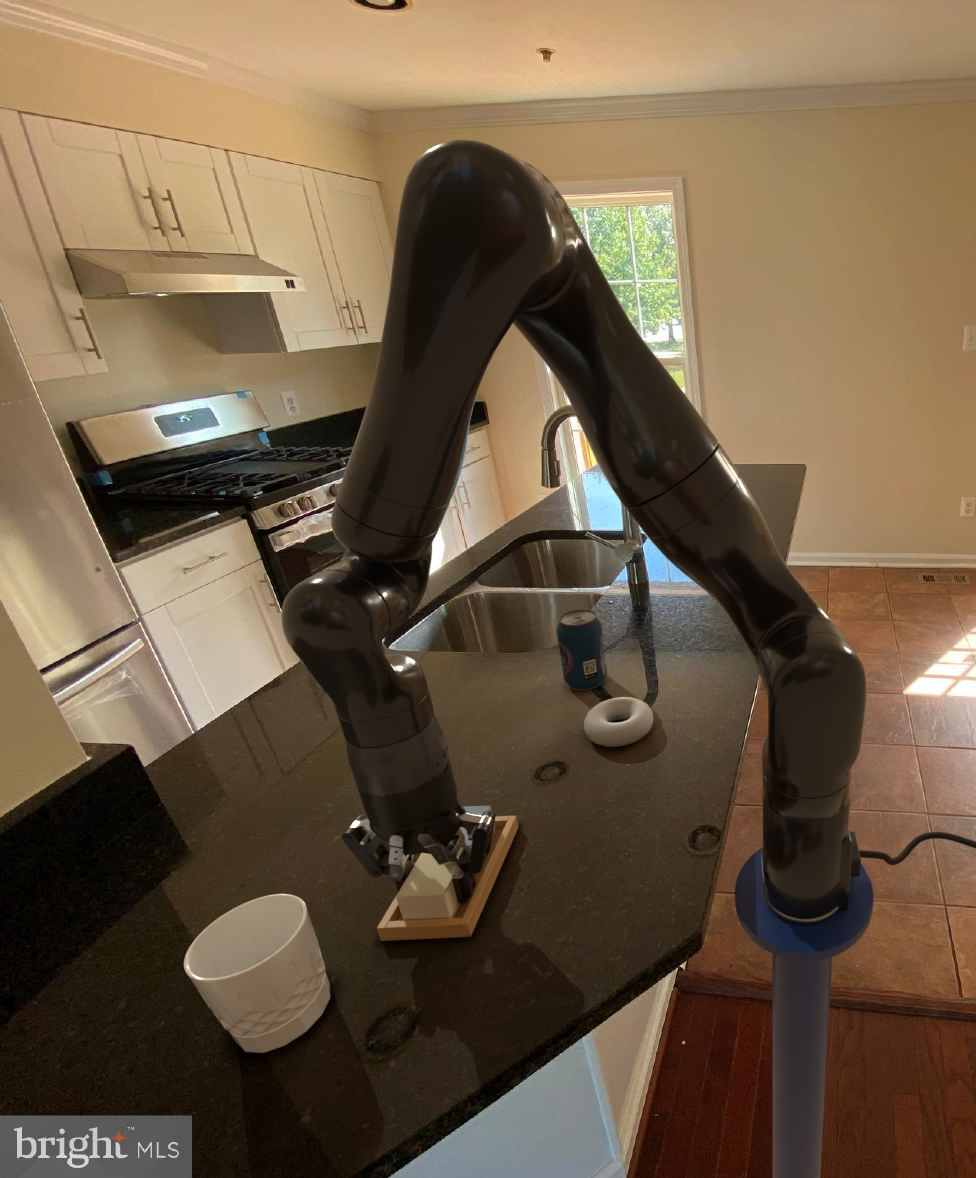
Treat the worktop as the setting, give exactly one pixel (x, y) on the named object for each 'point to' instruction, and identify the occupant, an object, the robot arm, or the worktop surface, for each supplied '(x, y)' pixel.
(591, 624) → the soda can
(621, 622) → the worktop surface
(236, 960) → the white cup
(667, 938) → the worktop surface
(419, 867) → the pad
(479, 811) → the pad
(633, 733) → the donut
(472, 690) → the worktop surface
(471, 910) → the frame
